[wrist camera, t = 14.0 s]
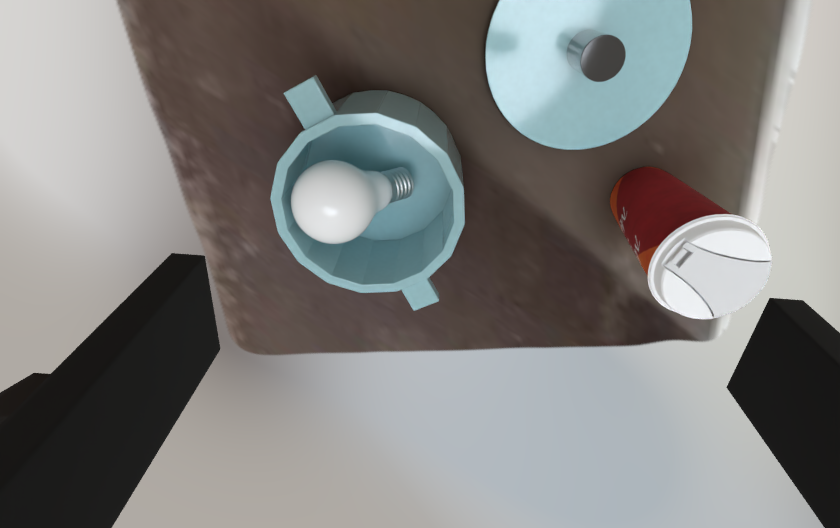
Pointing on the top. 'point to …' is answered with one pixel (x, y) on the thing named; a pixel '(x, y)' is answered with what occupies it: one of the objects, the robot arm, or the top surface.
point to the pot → (378, 151)
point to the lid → (584, 65)
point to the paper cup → (690, 245)
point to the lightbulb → (344, 198)
